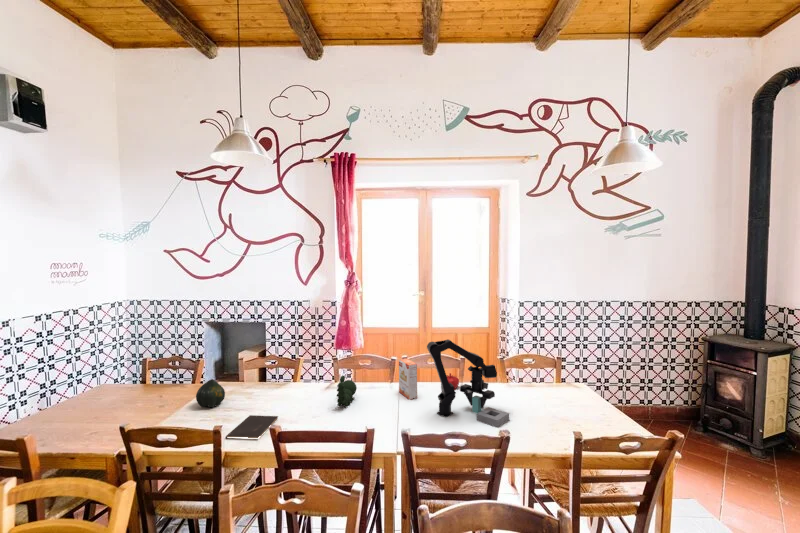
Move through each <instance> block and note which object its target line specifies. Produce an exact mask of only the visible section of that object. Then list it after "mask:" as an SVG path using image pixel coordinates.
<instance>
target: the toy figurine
mask: <svg viewBox="0 0 800 533" xmlns="http://www.w3.org/2000/svg"><path fill="white" fill-rule="evenodd" d="M345 379H346V377H345V375H341V376H340V378H339V383H338V384H337V385H336V387H337V389H336V392H337V393H336V397H337V400H336V402H337V406H338V407H341V406H342V405H344V407H348V406H350V405H351V403H352V402H353V401H354V398H353V397H354V395H355V394H356V392H357V384H356V383H355V381H353V380H352V379H347V380H345ZM341 404H342V405H341Z"/></svg>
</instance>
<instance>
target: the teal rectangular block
mask: <svg viewBox="0 0 800 533" xmlns="http://www.w3.org/2000/svg"><path fill="white" fill-rule="evenodd" d="M480 397H481V396H479V395H474V396H473V397H472V406H471V407H472V410H471V411H472V413H475V414H477V413H479V412H481V411H482V410H483V409H481V401H480Z"/></svg>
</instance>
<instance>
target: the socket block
mask: <svg viewBox="0 0 800 533" xmlns="http://www.w3.org/2000/svg"><path fill="white" fill-rule="evenodd" d="M475 414H476V415H475V416H476V418H475V419H476V421H477V422H480V423H483V424H485V425H486V424H487V425H488V426H492V427H495V428H499V427H501V426H502V425H504V424H505V423H506V422H508V421H510V413H509V412H507V411H504V410H500V409H497V408H494V407H490V406H488V407H485V409H484V408H483V409H482V411H481V412H479V413H475Z"/></svg>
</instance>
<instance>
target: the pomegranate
mask: <svg viewBox="0 0 800 533" xmlns="http://www.w3.org/2000/svg"><path fill="white" fill-rule="evenodd" d="M446 376H447V379H448V382H449V383H451V384H452V385H453V386H454V390H455V389H457V388H458V386H459V383H460V379H459V378H458V377H457V376H455V375H454V374H452V373H450V372H449V375H447V374H446Z"/></svg>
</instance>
